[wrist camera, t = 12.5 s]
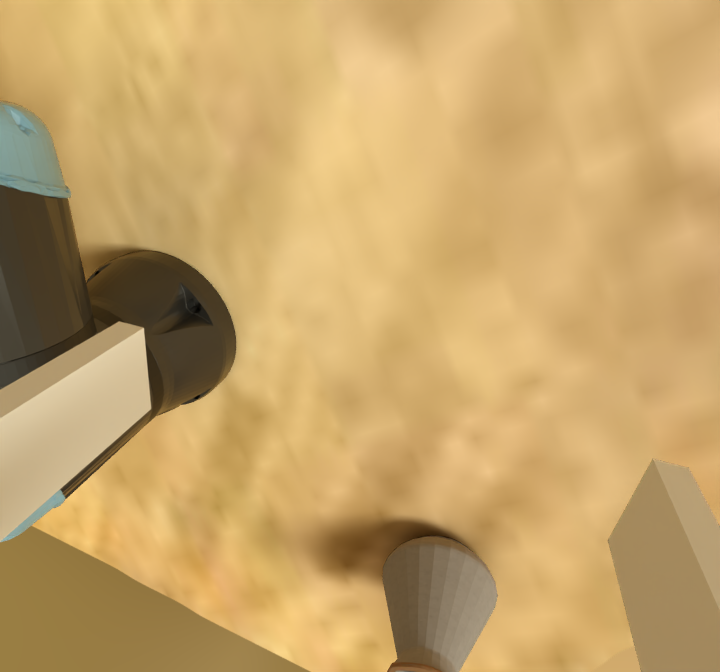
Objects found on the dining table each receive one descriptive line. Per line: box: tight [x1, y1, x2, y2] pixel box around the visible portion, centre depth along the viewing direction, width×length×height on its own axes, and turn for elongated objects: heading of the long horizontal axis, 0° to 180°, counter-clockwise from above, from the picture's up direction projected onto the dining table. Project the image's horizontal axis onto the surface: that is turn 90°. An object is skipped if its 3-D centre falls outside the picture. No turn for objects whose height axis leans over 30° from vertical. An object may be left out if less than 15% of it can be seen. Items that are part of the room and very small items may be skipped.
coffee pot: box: [383, 536, 498, 672], centre depth 46 cm, size 21×12×15 cm, turn 143°
